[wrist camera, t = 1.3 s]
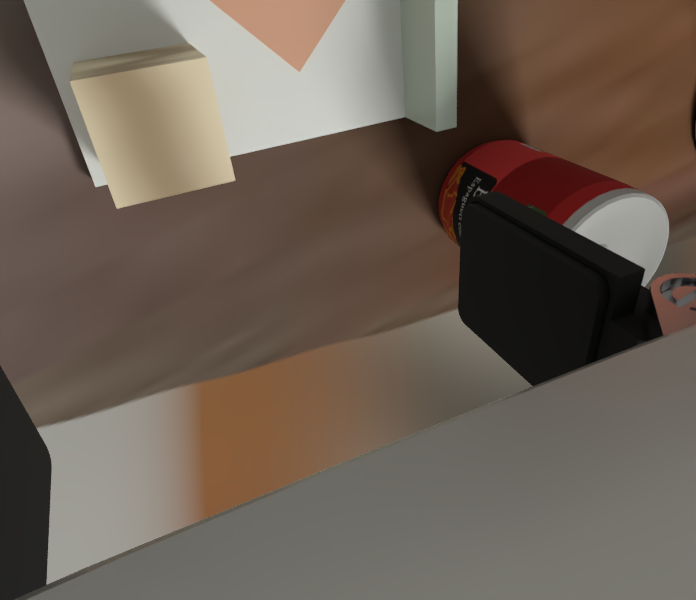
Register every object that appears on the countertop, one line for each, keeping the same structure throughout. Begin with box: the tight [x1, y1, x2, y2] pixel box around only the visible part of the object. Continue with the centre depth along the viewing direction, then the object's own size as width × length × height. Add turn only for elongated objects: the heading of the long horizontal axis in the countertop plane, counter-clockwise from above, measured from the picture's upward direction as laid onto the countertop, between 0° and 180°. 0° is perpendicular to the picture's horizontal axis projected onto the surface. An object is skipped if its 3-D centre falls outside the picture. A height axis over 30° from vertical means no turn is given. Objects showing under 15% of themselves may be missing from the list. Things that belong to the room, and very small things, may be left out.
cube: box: [70, 43, 235, 209], centre depth 24 cm, size 5×5×5 cm
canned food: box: [438, 140, 669, 287], centre depth 32 cm, size 8×8×11 cm
